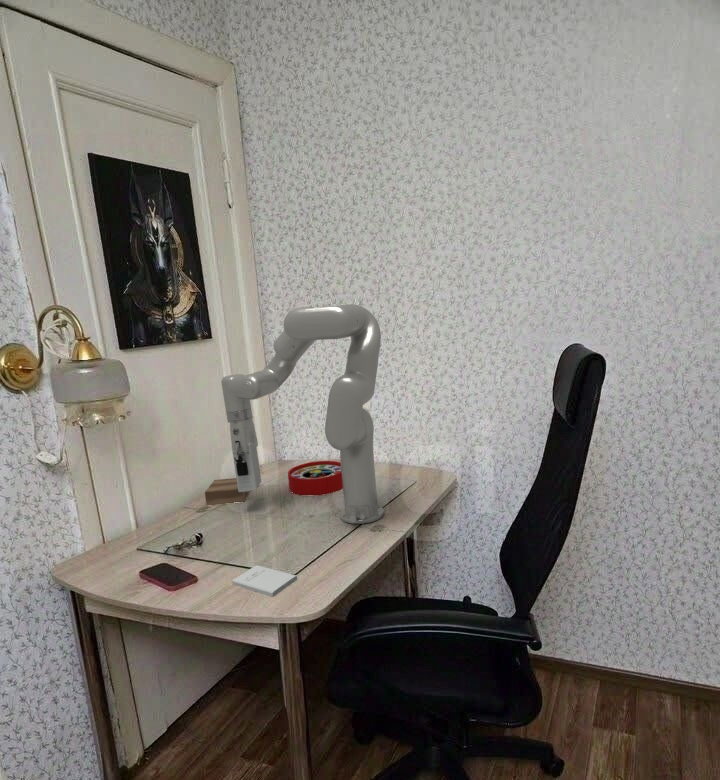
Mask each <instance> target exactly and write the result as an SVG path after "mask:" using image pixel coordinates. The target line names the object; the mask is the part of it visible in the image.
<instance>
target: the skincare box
mask: <svg viewBox="0 0 720 780" xmlns="http://www.w3.org/2000/svg"><path fill="white" fill-rule="evenodd" d="M248 446H249V451H250V453H249V454H247V453H245V456H246V458H245V462H247V467H248V475H244V476H238V474H237V468H236V463H235V459H234V456H232V458H233V463H234V471H235V478H236V479H237V486H238V492H245V491H250V492H254V491H258V488H259V487H260V485H261V482H262V478H261V477H262V476H261V471H260V463H259V457H258V448H257V447H258V446H257V447H256V448H255V449H254V447H253V443H252V442H251V443H249V444H248ZM231 450H232V453H233V449H232V448H231ZM239 452H243V450H242V448H241V446H240V449H239ZM240 456H241V457H242V456H243V455H240Z"/></svg>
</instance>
